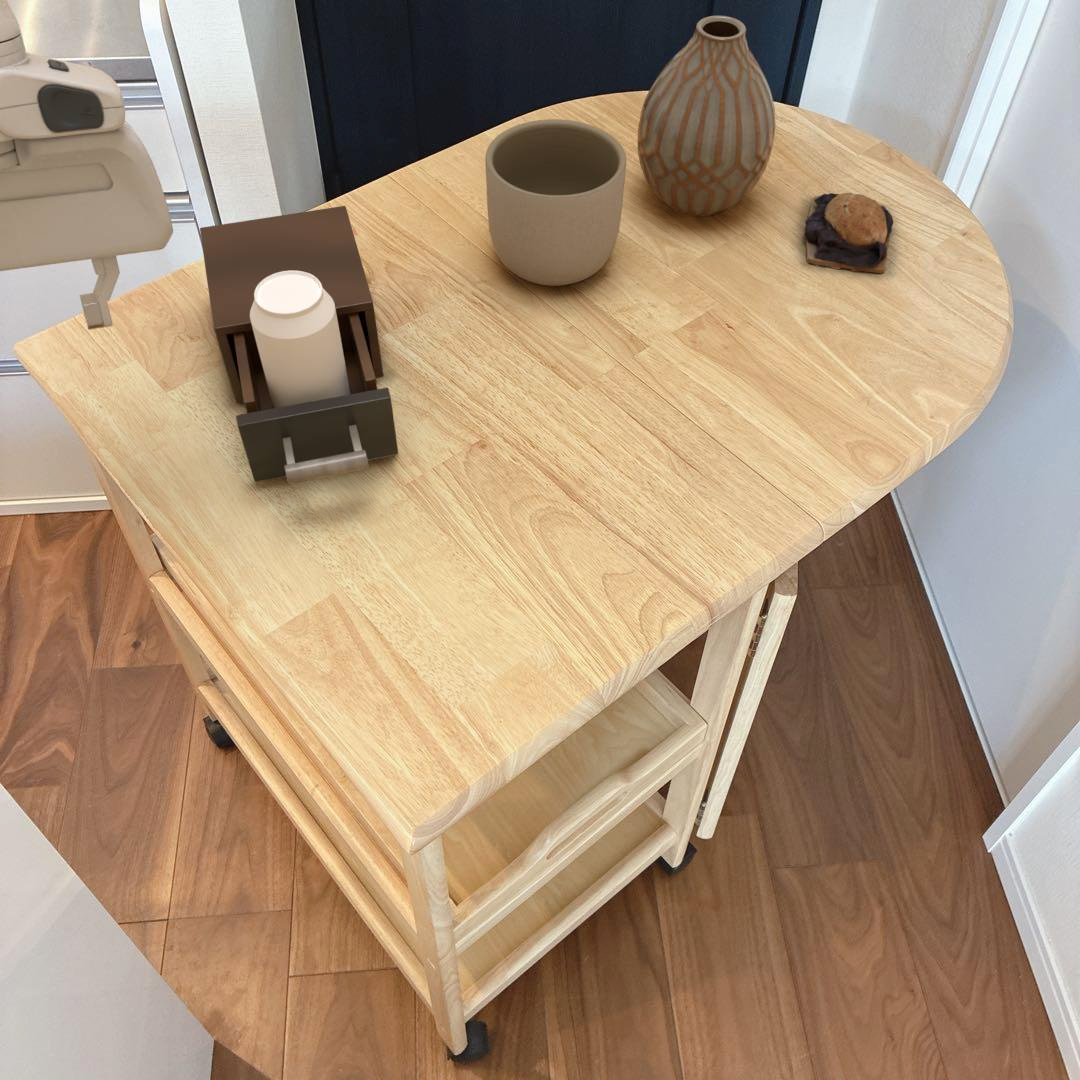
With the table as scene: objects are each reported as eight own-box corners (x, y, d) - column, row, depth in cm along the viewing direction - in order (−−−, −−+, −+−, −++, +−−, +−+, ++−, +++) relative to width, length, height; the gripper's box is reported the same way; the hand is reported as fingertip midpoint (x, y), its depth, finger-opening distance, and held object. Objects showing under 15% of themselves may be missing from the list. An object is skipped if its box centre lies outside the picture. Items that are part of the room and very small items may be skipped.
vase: (625, 162, 112) (640, -7, 98) (748, 159, 112) (779, -9, 99) (639, 238, 104) (657, 65, 90) (771, 234, 104) (809, 62, 91)
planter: (642, 276, 100) (653, 174, 91) (526, 316, 96) (526, 213, 88) (577, 207, 107) (582, 105, 98) (466, 242, 103) (461, 139, 94)
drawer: (409, 493, 82) (401, 436, 77) (260, 523, 80) (243, 467, 75) (370, 352, 92) (362, 294, 87) (238, 375, 90) (221, 318, 85)
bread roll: (807, 201, 108) (814, 168, 105) (891, 212, 107) (901, 180, 104) (799, 263, 102) (807, 230, 99) (888, 276, 100) (899, 243, 98)
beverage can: (320, 372, 89) (296, 253, 79) (368, 409, 86) (349, 291, 76) (260, 409, 86) (227, 290, 76) (307, 449, 83) (279, 331, 74)
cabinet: (383, 376, 91) (373, 301, 85) (235, 403, 89) (213, 328, 83) (356, 279, 99) (345, 205, 93) (220, 302, 97) (199, 227, 91)
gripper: (-292, 130, 51) (-181, 390, 59) (150, 93, 58) (195, 329, 66) (-272, 102, 55) (-172, 347, 63) (134, 71, 62) (179, 294, 70)
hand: (18, 337), depth 64 cm, fingers open, 8 cm apart
